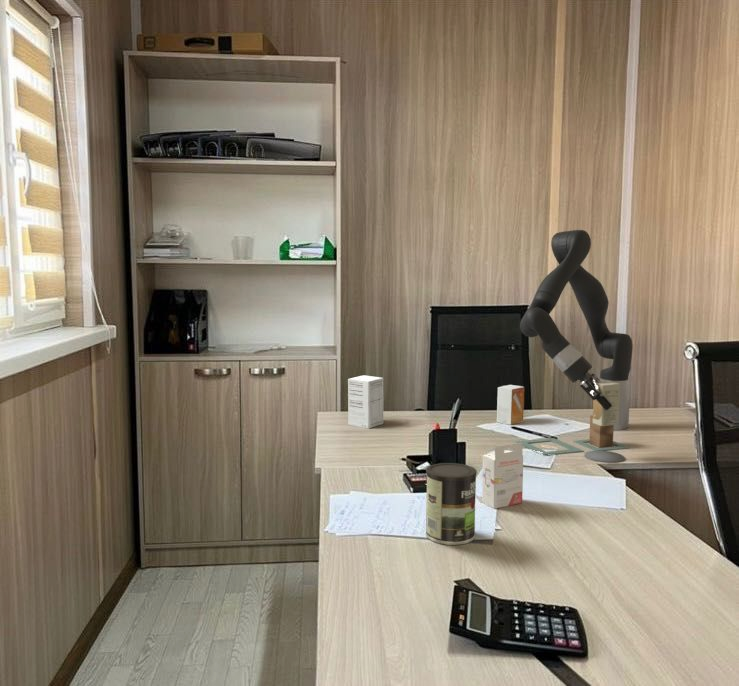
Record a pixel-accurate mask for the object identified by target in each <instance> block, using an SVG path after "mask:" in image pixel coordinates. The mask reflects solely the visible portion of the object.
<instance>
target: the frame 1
mask: <svg viewBox="0 0 739 686" xmlns="http://www.w3.org/2000/svg"><path fill="white" fill-rule="evenodd" d="M549 442H550V443H551V442H552V444H553V443H554V444H556V445H559V446H561V447H563V448H566V449H559V448H557V447H556V446H552V445H551V444H549V445H548V444H547V445H540V447H543V448H545V449H551V448H552V449H556V450H548V451H546V450H544V449H542V448H540V447H537V446H535V445H533V444H537V443H539V444H540V443H549ZM516 443H522V447H525V448H526V449H529V450H530V449H532V450H531V451H533V450H535V451H540V452H543V453H542V454H543V455H547V456H549V455H548V454H555V455H564V454H566V455H567V454H573V453H574V454H575V453H585V450H584V449H582V448H578V447H576V446H574V445H571V444H569V443H567V442H564V441H562V440H559V439H557V438H554V437H550V438H549V437H548V438H539V439H538V438H537V439H527V440H516V441H515V444H516ZM558 449H559V450H558ZM535 451H534V452H535ZM543 455H542V456H543ZM555 455H554V456H555Z"/></svg>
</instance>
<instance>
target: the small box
mask: <svg viewBox="0 0 739 686" xmlns="http://www.w3.org/2000/svg"><path fill="white" fill-rule="evenodd" d="M496 400H497V401H496V402H497V403H496V404H497V405H496V423H499V424H504V425H510V426H512V425H515V423H516V424H519V423H518V422H520V423H522V422H521V421H523V422H524V408H525V407H524V406H525V386H522V385H514V384H507V385H501V386H498V387H497V397H496Z"/></svg>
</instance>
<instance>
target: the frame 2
mask: <svg viewBox="0 0 739 686" xmlns="http://www.w3.org/2000/svg"><path fill="white" fill-rule="evenodd" d="M572 442H573V443H575V444H577V445H579V446H582V447H585V448H587V449H589V450H591V451H616V450H628V449H629V450H630V448H631V447H630V446H627V445H625V444H622V443H620V442H616V441H614V440H613V446H611V447H600V448H599V447H597V446H594V445H591V444H589V438H588V439H580V440H578V439H577V440H573V441H572Z"/></svg>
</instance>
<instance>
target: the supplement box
mask: <svg viewBox="0 0 739 686" xmlns="http://www.w3.org/2000/svg"><path fill="white" fill-rule="evenodd" d="M347 386H348V387H347V391H348V393H347V399H348V400H347V401H348V402H347V404H348V405H347V406H348V407H347V409H348V410H347V412H348V413H347V415H348V416H347V417H348V418H347V419H348V420H347V421H348V423H347V424H348V426H351V427H356V428H362V429H367V430H368V429H372V428H374V427H377V426H380V425H383V424H384V377H381V376H371V375H359V376H355V377H351V378H348V379H347Z"/></svg>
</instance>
